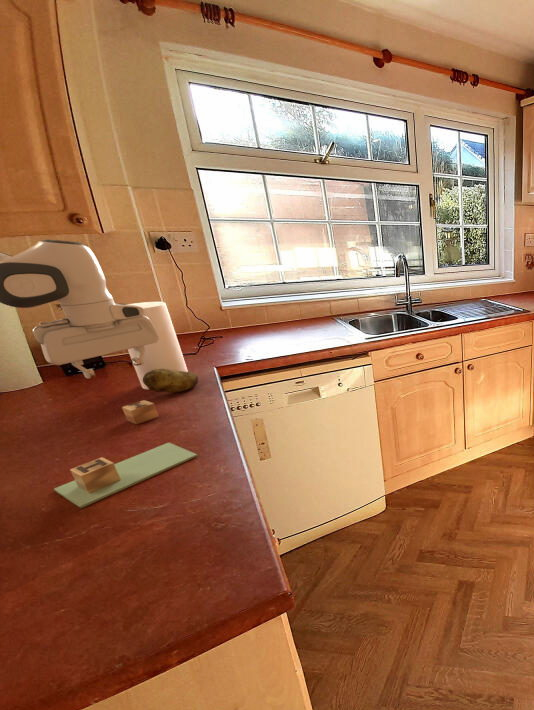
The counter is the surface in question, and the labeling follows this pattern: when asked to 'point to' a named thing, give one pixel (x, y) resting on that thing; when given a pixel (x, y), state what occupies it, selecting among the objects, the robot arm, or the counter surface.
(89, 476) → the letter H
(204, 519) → the counter surface
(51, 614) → the counter surface
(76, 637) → the counter surface
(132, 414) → the tan boxy piece
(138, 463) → the mat
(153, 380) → the potato
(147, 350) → the cylinder
